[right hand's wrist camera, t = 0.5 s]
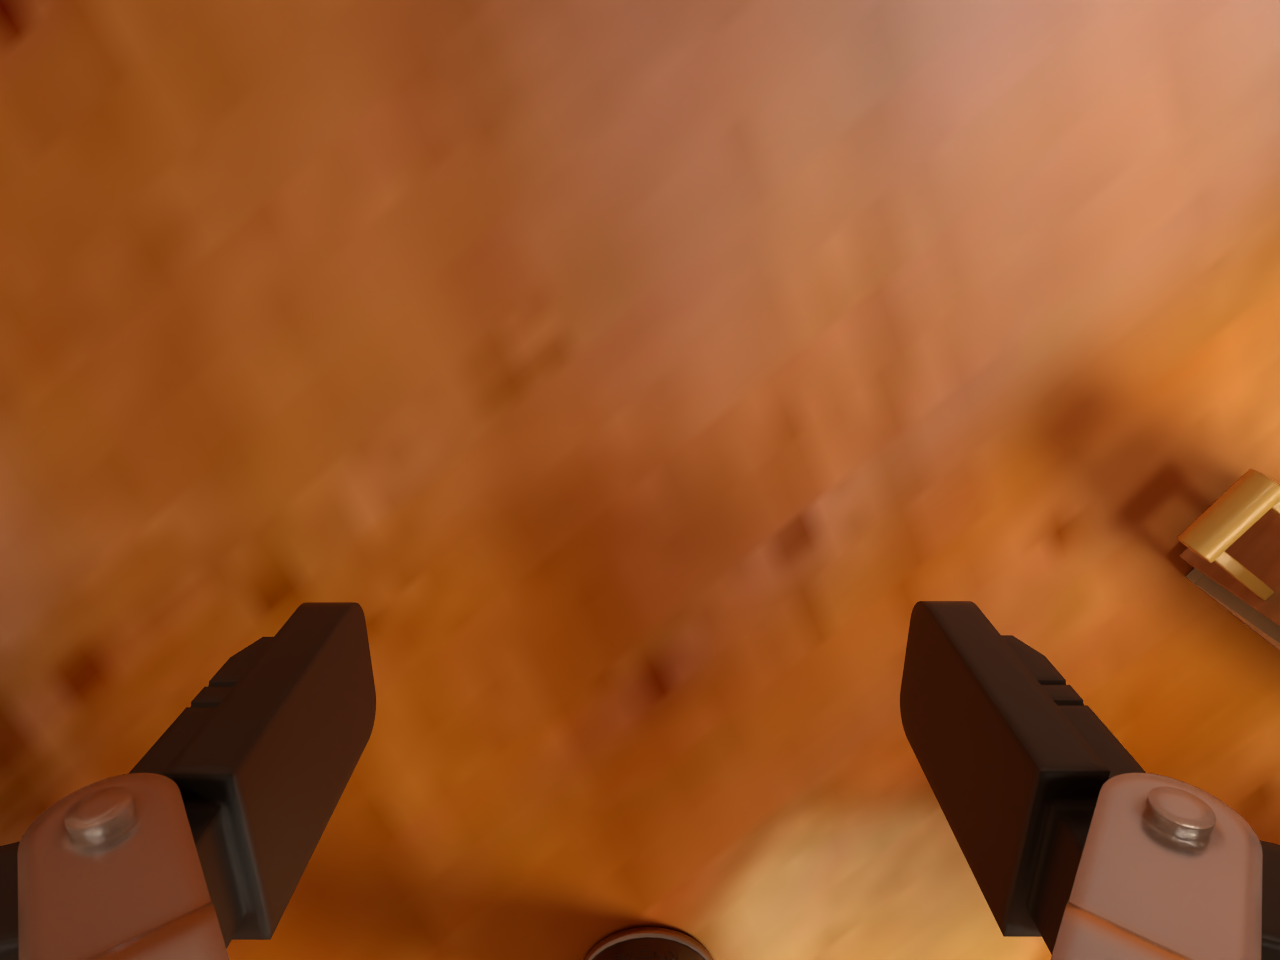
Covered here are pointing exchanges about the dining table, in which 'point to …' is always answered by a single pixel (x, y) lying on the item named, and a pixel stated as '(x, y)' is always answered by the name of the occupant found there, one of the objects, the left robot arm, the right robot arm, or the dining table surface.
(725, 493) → the dining table surface
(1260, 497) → the drawer
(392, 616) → the dining table surface
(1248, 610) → the grey rectangular box
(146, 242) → the dining table surface
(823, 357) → the dining table surface
